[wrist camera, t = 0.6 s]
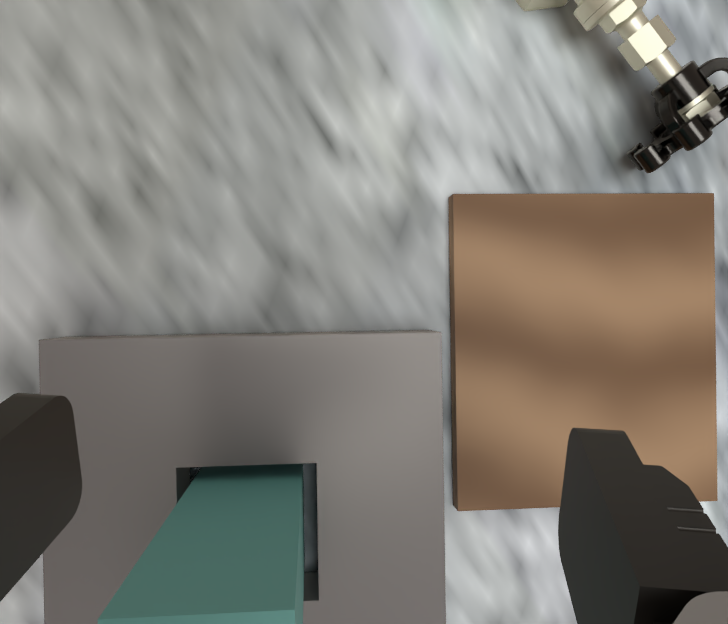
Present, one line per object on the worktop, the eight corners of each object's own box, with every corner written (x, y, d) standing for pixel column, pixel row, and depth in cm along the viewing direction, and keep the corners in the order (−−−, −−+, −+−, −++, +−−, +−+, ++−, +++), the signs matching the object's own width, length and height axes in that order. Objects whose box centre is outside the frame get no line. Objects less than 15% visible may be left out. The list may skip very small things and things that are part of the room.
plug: (203, 464, 30) (97, 619, 15) (303, 461, 31) (294, 609, 16) (205, 563, 30) (101, 814, 15) (304, 559, 31) (297, 800, 16)
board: (448, 197, 31) (452, 194, 30) (701, 197, 32) (713, 193, 31) (453, 504, 31) (457, 511, 30) (704, 494, 32) (717, 500, 31)
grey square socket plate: (66, 336, 30) (38, 340, 27) (428, 330, 31) (441, 332, 28) (73, 701, 30) (46, 745, 27) (434, 679, 31) (447, 719, 28)
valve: (454, -19, 31) (614, 187, 32) (493, -107, 24) (693, 156, 25) (564, -106, 31) (719, 100, 32) (631, -215, 25) (825, 47, 25)
